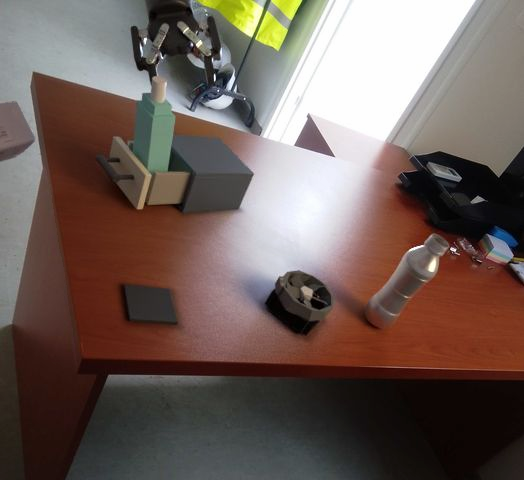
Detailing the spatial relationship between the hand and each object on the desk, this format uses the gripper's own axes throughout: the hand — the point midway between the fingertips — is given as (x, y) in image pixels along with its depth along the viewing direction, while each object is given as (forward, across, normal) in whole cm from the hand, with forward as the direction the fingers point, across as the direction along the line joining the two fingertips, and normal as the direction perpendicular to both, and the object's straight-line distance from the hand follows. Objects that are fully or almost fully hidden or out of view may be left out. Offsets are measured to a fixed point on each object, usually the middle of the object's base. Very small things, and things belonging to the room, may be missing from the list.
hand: (184, 87), depth 75 cm
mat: (+36, -11, -5) cm, 38 cm away
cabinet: (+10, -2, +20) cm, 22 cm away
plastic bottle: (+43, +29, +15) cm, 54 cm away
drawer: (+11, -11, +12) cm, 19 cm away
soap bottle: (+10, -10, +11) cm, 18 cm away
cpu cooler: (+39, +12, +7) cm, 41 cm away
